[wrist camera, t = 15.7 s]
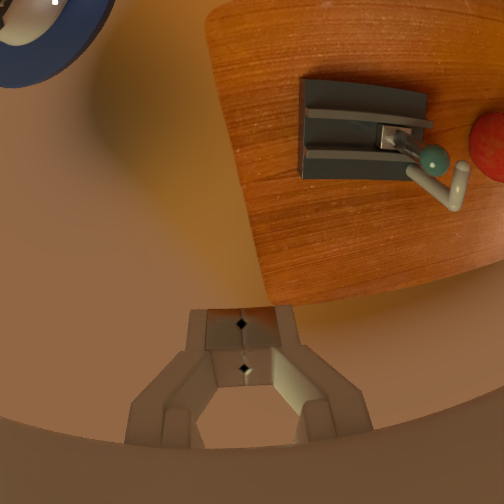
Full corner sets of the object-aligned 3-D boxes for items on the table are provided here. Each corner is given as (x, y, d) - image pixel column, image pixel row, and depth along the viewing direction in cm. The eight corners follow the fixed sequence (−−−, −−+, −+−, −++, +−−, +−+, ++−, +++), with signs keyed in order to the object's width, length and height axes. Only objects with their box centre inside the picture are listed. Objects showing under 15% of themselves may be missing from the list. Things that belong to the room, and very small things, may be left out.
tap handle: (377, 121, 33) (430, 147, 23) (405, 124, 33) (461, 152, 23) (375, 146, 35) (424, 181, 25) (402, 148, 35) (455, 183, 25)
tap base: (299, 78, 33) (336, 84, 21) (415, 91, 33) (484, 111, 22) (297, 171, 39) (327, 222, 28) (405, 173, 40) (462, 219, 28)
